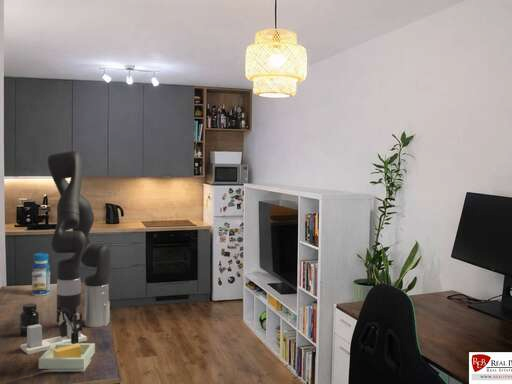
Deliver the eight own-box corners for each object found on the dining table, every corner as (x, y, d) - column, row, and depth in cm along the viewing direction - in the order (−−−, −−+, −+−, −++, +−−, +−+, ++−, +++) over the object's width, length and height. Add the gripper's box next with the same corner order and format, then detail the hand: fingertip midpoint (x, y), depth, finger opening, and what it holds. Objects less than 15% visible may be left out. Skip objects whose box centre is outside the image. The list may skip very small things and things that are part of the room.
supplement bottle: (17, 339, 186) (17, 307, 186) (21, 333, 193) (21, 302, 192) (37, 338, 188) (37, 306, 188) (40, 332, 195) (40, 302, 194)
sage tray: (94, 354, 174) (94, 343, 174) (83, 371, 160) (83, 359, 160) (53, 354, 173) (53, 343, 173) (38, 371, 159) (38, 359, 159)
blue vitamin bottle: (53, 293, 252) (54, 253, 251) (38, 297, 245) (38, 256, 243) (43, 290, 256) (43, 252, 255) (28, 294, 249) (28, 254, 248)
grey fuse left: (38, 346, 178) (38, 324, 177) (42, 348, 176) (42, 326, 175) (27, 348, 175) (27, 326, 175) (30, 351, 173) (30, 328, 172)
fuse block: (78, 337, 190) (78, 332, 190) (86, 342, 185) (87, 336, 185) (20, 351, 175) (20, 344, 175) (27, 357, 170) (27, 350, 170)
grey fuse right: (77, 337, 188) (77, 316, 187) (80, 339, 185) (80, 318, 185) (66, 339, 185) (66, 318, 184) (70, 342, 183) (70, 320, 182)
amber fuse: (53, 361, 165) (76, 355, 170) (57, 364, 163) (80, 357, 168) (53, 349, 164) (76, 343, 170) (57, 352, 162) (80, 346, 168)
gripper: (89, 294, 163) (89, 343, 164) (70, 285, 173) (70, 331, 174) (67, 298, 157) (67, 348, 158) (48, 289, 168) (48, 336, 169)
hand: (69, 339), depth 166 cm, fingers open, 8 cm apart
